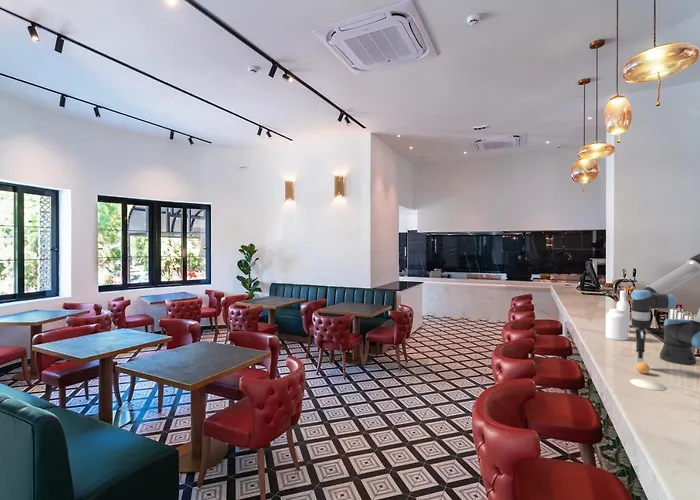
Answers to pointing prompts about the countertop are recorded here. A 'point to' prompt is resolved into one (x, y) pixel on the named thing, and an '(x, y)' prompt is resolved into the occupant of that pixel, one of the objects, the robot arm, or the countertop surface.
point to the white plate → (647, 384)
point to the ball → (642, 368)
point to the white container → (617, 324)
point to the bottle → (624, 305)
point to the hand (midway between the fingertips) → (640, 363)
